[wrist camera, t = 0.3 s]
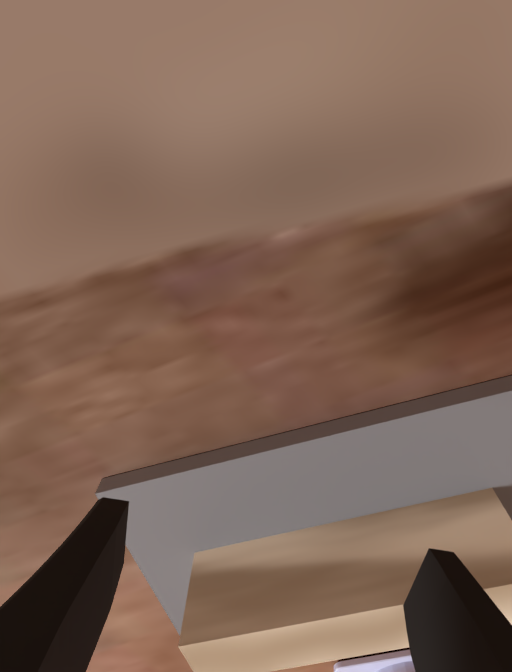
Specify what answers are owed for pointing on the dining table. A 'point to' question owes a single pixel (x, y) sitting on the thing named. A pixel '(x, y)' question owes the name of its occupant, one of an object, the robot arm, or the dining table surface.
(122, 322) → the dining table surface
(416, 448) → the assembly board
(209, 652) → the birch slat
